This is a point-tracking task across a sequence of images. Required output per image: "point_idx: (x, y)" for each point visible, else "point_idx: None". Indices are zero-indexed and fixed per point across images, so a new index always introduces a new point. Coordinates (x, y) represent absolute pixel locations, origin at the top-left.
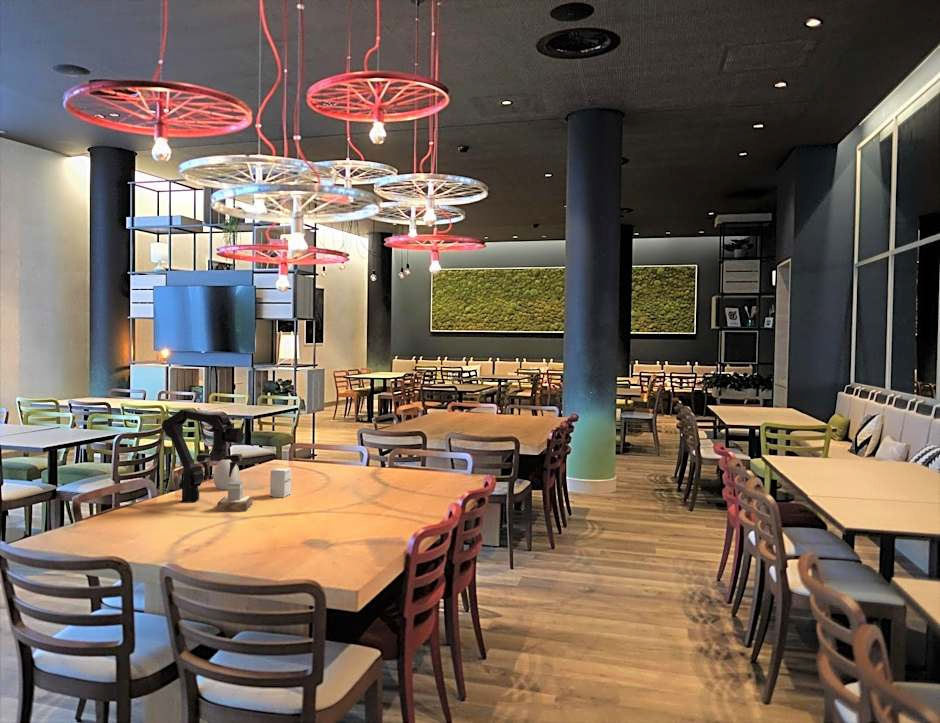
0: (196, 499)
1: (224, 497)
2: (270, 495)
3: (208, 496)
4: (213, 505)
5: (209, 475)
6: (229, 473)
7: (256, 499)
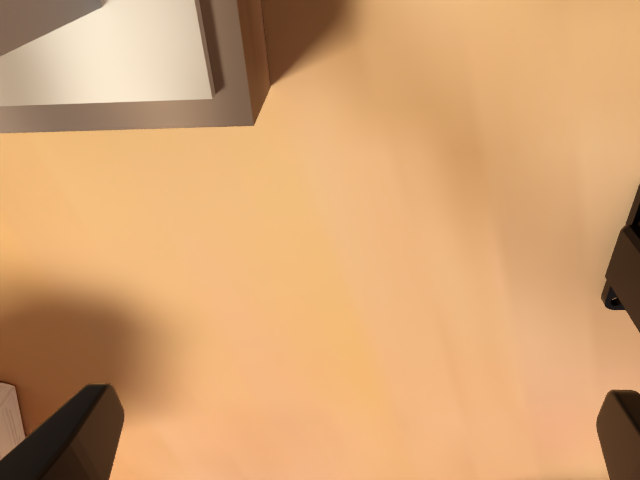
0: (638, 227)
1: (234, 68)
2: (5, 391)
3: (522, 391)
4: (396, 40)
5: (605, 445)
6: (49, 453)
7: (66, 309)
